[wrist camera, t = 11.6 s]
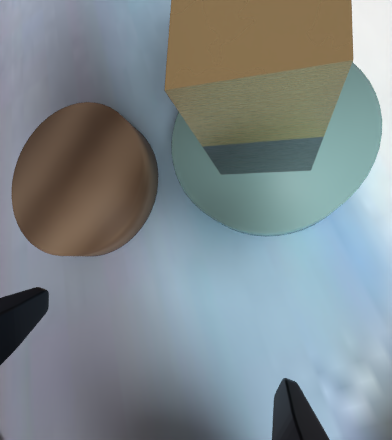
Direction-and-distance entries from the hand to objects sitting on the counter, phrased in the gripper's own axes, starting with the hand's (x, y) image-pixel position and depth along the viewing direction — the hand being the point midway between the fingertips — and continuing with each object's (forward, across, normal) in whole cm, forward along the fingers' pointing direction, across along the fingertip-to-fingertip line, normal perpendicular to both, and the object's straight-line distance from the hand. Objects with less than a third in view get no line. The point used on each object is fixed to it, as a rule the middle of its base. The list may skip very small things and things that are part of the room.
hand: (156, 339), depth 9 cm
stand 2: (+14, -2, -6) cm, 15 cm away
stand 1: (+14, +12, 0) cm, 18 cm away
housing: (+11, -2, -8) cm, 14 cm away
